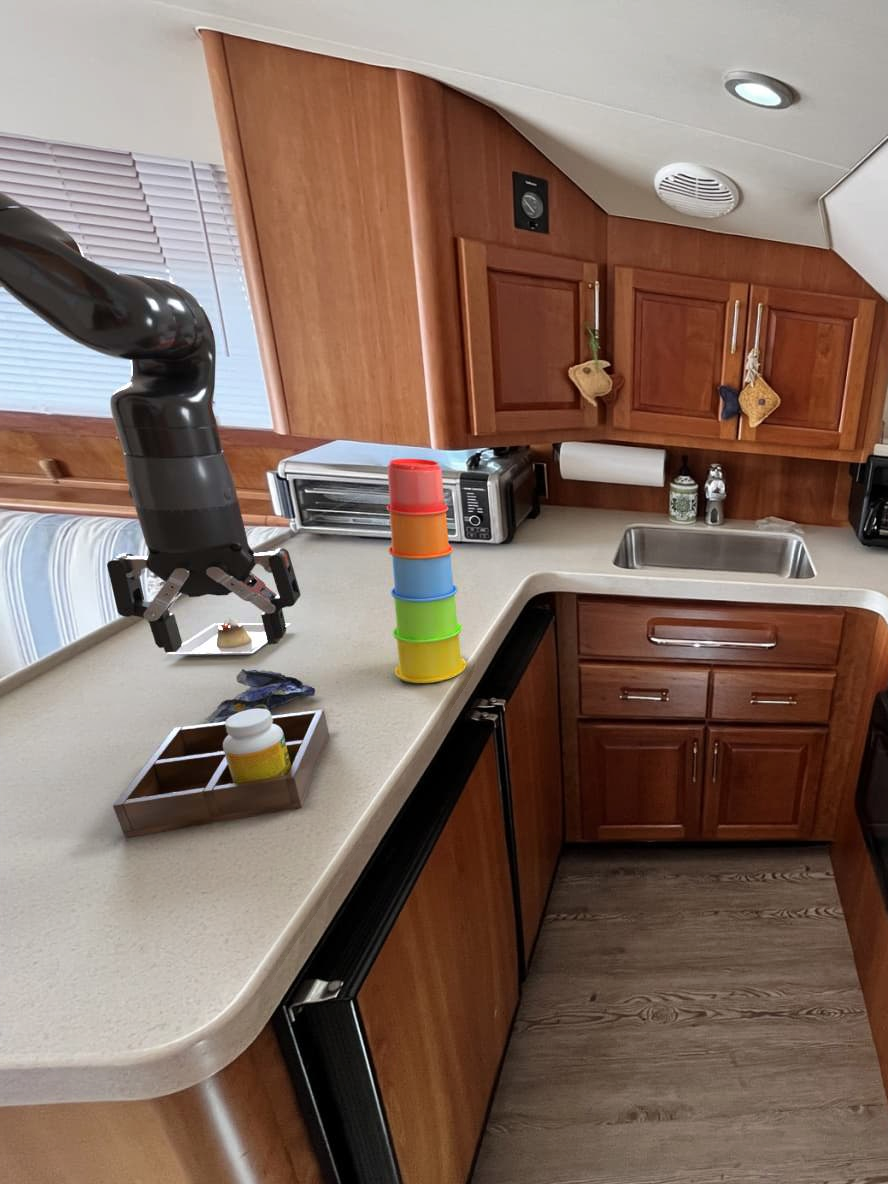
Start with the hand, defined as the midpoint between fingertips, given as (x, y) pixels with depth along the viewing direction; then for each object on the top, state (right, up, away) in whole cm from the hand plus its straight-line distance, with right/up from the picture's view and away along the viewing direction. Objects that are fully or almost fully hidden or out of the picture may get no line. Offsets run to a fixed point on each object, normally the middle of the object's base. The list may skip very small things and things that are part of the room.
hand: (225, 645), depth 68 cm
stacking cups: (+1, -7, +37) cm, 38 cm away
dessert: (-35, -3, +40) cm, 53 cm away
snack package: (-16, -11, +24) cm, 31 cm away
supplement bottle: (-1, -18, +7) cm, 19 cm away
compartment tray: (-6, -17, +9) cm, 20 cm away
